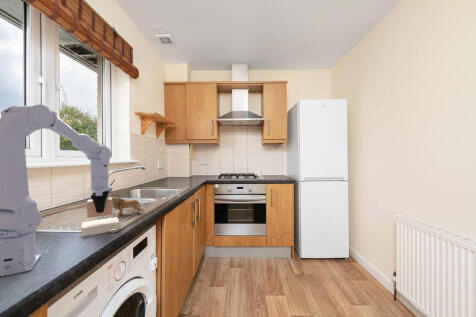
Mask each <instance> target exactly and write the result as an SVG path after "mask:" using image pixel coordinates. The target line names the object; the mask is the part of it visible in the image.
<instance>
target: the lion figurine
mask: <svg viewBox="0 0 476 317" xmlns="http://www.w3.org/2000/svg"><path fill="white" fill-rule="evenodd" d="M131 207H132V208H133V210H132V211H131V213H135V212H136V211H137V212H136V214H140V213H141V212H143V211H144V209H142V208H141V205H140V203H139V201H138V200H136V199H131V200H125V199H123V198H120V197H117V196H113V197H112V208H113V209H115V210H118V211H119V212H118V213H117V215H118V216H122V215H123V209H129V208H131ZM139 212H140V213H139Z"/></svg>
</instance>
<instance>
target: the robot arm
mask: <svg viewBox="0 0 476 317" xmlns="http://www.w3.org/2000/svg"><path fill="white" fill-rule="evenodd" d="M58 115H59V114H58V112H56V111H54V110H52V109H50V107H48V106H47V105H44V104H39V103H38V104H33V105H12V106H9V107H8V108H5V109H2V110H1V111H0V276H1V277H6V276H9V275H15V274H20V273H25V272H28V271H31V270H32V269H33V267H34V266H35V265H36V264H37V262H38V261H39V259H40V258H41V256H42V254H41V253H39V254H37V253H36V252H37V250H36V231H37V228H38V227H39V226H40V224H41V223H42V218H43V216H42V213H41V212H40V210H39V208H38V205H37V202H36V200H34V199H33V198H32V197H31V196H30V192H29V180H28V169H27V168H28V167H27V154H26V146H25V138H27V137H29V136H30V135H32V134H33V133H34V132H36V131H38V130H39V131H40V130H42V129H43V130H44V129H46V130H50V131H52V132H54V133H56V134H58V135H60V136H61V137H63V138H65V139H67V140H68V141H70V142H71V145H72V147H73V148H75V149H77V150H79V151H80V152H81V153H83V154H85V156H86V158H87V159H88V160H89V161H90V192H92V193H91V195H90V199H92V200H93V202H94V204H95V208H96V212H97V213H102V212H104V207H105V202H106V199H107V198H109V192H110V191H109V190H112V189H113V186H109V165H110V160H111V158H112V152H111V150H110V148H109V147H108V146H106V145H101V144H100V143H101V142H99V141H96V140H95V139H93V138H92V137H91V135H90V134H89V133H88V134H85V133H79V132H78V131H76V130H75V129H74V128H73V127H72V126H70V125H69V124H68V123H66V122H65V121H64V120H62V119H61V118H60V117H59V116H58ZM5 275H6V276H5Z"/></svg>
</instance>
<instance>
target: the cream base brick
mask: <svg viewBox="0 0 476 317" xmlns="http://www.w3.org/2000/svg"><path fill="white" fill-rule="evenodd" d="M80 228H81V232H80V233H81V236H80V237H83V238H84V237H89V236H94V235H98V234H99V235H100V234H104V233H108V232H107V231H109V230H112V229H118V228H119V229H120V221H119V218H118V216H115V217H109V218H103V219H102V218H101V219H96V220H89V221H82V223H81V227H80Z"/></svg>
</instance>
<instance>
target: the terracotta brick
mask: <svg viewBox="0 0 476 317" xmlns="http://www.w3.org/2000/svg"><path fill="white" fill-rule="evenodd" d="M112 198H113V197H107V199H106V202H105V207H104V212H102V213H97V212H96V208H95V204H94V202H93V200H92V198H90V199H88V200H87V201H86V213H87V214H86V215H87V219H90V218H96V217H103V216H111V215H113V207H112Z"/></svg>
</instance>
